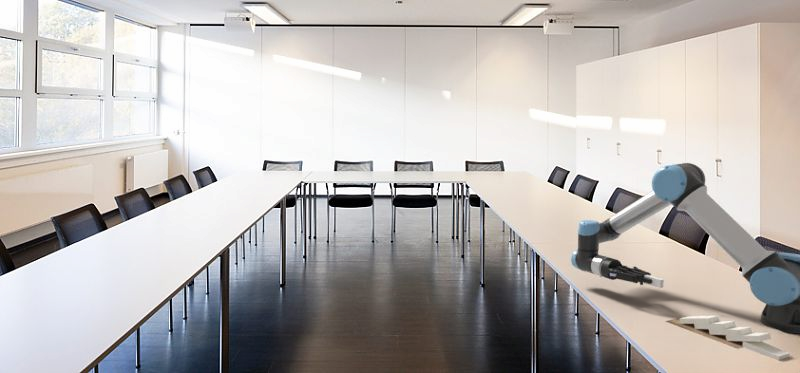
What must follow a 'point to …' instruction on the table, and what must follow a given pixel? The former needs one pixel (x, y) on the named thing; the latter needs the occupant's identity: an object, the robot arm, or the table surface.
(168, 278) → the table surface
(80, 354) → the table surface
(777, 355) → the domino
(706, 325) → the domino
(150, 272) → the table surface
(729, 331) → the domino
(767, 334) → the domino
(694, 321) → the domino
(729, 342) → the board
